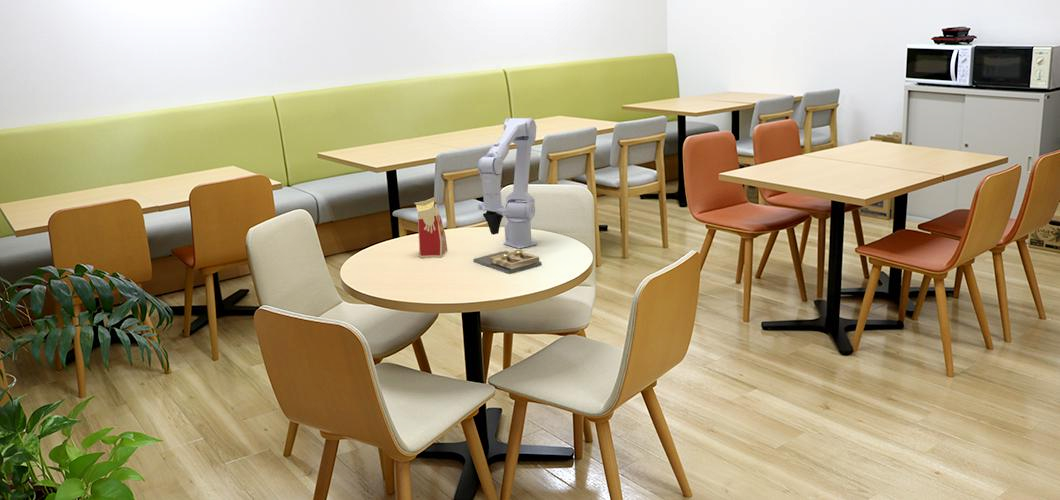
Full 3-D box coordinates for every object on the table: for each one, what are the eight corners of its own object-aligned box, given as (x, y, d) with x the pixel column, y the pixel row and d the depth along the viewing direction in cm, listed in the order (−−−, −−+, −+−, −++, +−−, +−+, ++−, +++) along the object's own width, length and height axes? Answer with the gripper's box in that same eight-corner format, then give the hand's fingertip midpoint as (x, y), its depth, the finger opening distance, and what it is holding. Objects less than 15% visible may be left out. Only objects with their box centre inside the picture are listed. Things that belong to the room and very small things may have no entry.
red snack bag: (447, 250, 313) (442, 194, 308) (442, 257, 305) (437, 200, 299) (422, 251, 314) (416, 195, 309) (416, 258, 306) (410, 200, 300)
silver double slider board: (473, 261, 297) (472, 249, 296) (505, 253, 305) (504, 241, 304) (508, 273, 282) (508, 261, 281) (541, 265, 289) (540, 252, 288)
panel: (489, 262, 291) (489, 257, 291) (517, 255, 297) (516, 250, 297) (511, 269, 282) (511, 264, 281) (539, 261, 288) (539, 257, 288)
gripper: (469, 192, 295) (472, 232, 299) (494, 198, 284) (497, 239, 288) (487, 188, 299) (489, 228, 303) (512, 194, 288) (515, 235, 292)
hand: (494, 233), depth 296 cm, fingers closed
